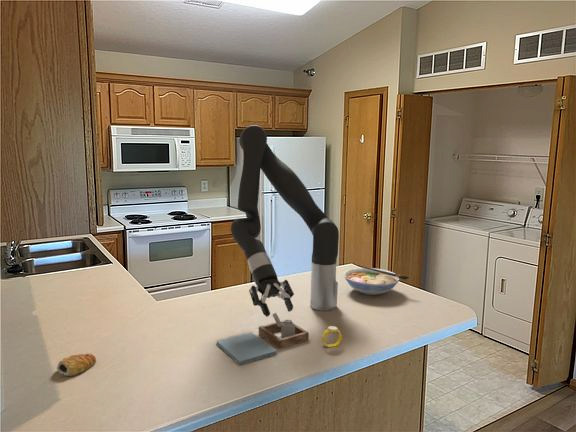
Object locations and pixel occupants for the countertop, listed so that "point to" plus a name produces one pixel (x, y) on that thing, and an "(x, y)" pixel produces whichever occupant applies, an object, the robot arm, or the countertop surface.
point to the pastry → (76, 364)
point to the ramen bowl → (372, 280)
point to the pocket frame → (299, 337)
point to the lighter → (285, 326)
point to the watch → (332, 329)
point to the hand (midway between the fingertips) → (279, 313)
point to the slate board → (246, 348)
